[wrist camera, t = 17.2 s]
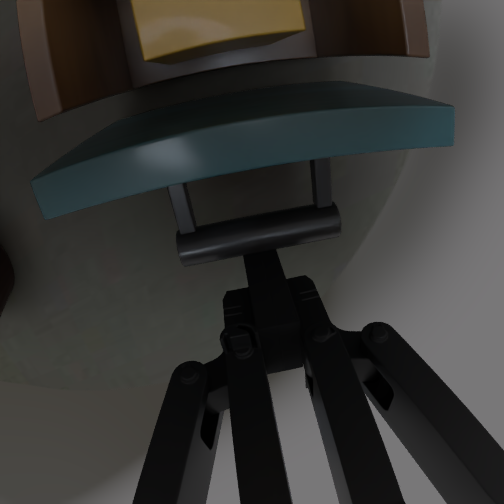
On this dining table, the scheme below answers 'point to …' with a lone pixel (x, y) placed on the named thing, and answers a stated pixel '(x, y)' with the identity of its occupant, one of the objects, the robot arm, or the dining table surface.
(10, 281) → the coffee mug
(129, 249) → the dining table surface
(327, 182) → the drawer
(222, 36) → the block
